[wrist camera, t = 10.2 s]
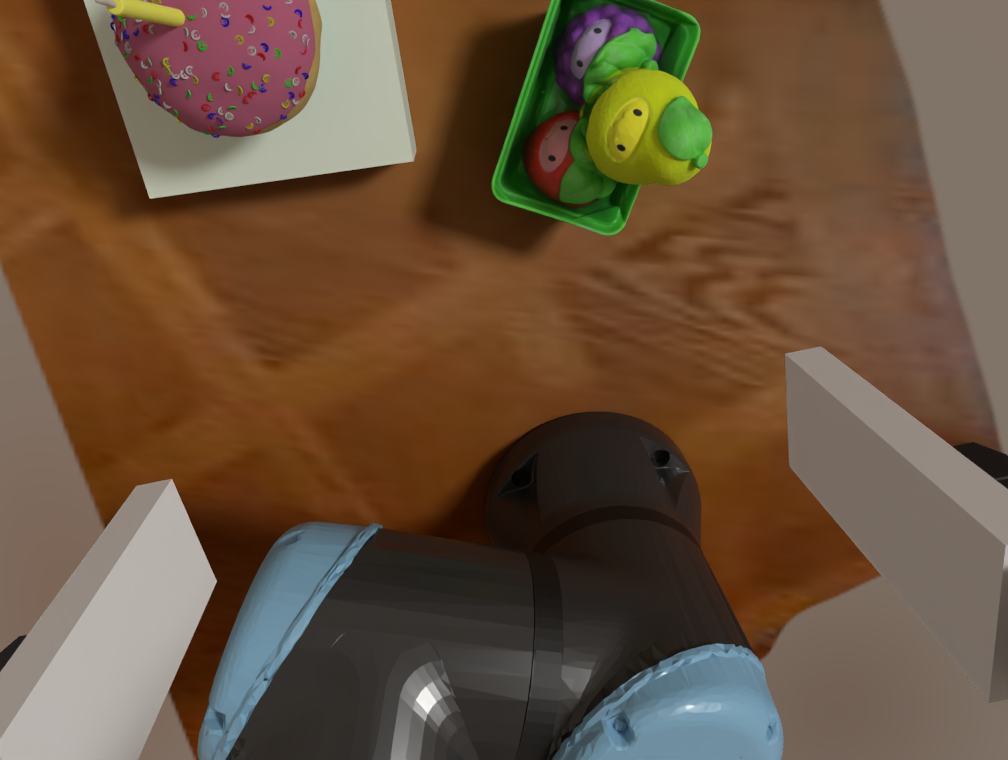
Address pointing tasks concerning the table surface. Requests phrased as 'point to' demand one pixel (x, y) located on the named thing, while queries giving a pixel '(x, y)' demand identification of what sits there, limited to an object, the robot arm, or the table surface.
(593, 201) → the fruit basket
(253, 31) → the cupcake
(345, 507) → the table surface
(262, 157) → the sage stand
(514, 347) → the table surface
